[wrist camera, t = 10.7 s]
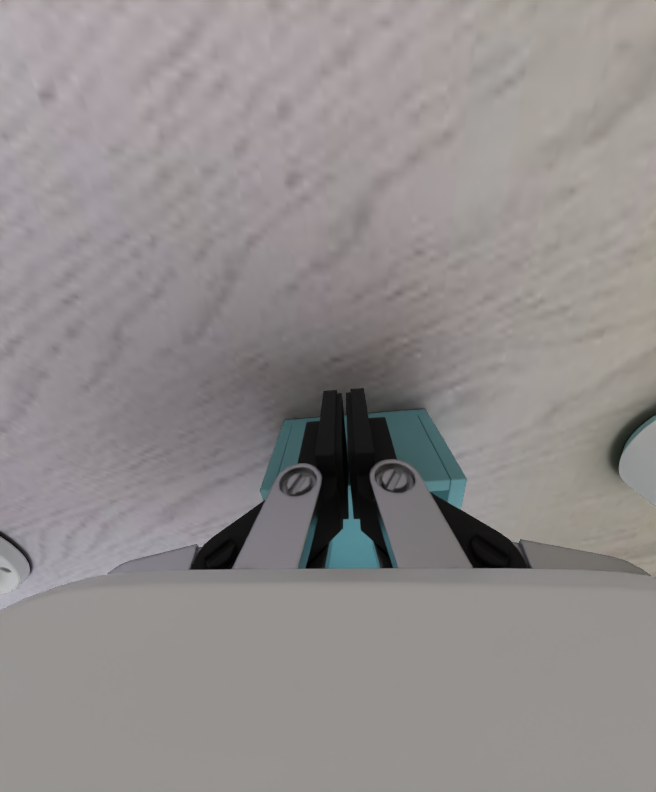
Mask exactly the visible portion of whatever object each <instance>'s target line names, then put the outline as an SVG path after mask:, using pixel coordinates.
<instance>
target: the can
mask: <svg viewBox="0 0 656 792" xmlns="http://www.w3.org/2000/svg"><path fill="white" fill-rule="evenodd" d="M619 474H620V477H621V479H622V480H623V481H624V482H625V483H626V484H627V485H628V486H629V487H631V488H632V489H633V490H635V491H636V492H637V493H638V494H640V495H641V496H642V497H644V498H645V499H646V500H647V501H649V502H650V503H651V504H653V505H654V506H655V507H656V415H655V416H653V417H652V418H650V419H649V420H647V421H646V422H645V423H644V424H642V425H641V426H640V427H639V428H638V429H637V430H636V431H635V432H634V433H633V434H632V435H631V437H630V438H629V439H628V441H627V443H626V444H625V447H624V450H623V452H622V455H621V458H620V462H619Z"/></svg>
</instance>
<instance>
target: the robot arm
mask: <svg viewBox="0 0 656 792" xmlns="http://www.w3.org/2000/svg"><path fill="white" fill-rule="evenodd" d="M346 416H347V443H346V432H345V421H344V411H343V400H342V393H337V390H331V391H324V393H323V400H322V407H321V415H320V421H311V422H307V423H306V427H305V431H304V436H303V440H302V445H301V449H300V454H299V458H298V463H297V464H295V465H291V466H289V467H287V468H285V469H284V470H283V471H282V472H280V473H279V475H278V476H277V478H276V479H275V481H274V483H273V485H272V488H271V490H270V492H269V494H268V496H267V498H266V500H264V501H263V502H262V503H260V504H259V505H257V506H256V507H255V508H253V509H252V510H250V511H249V512H248V513H246V514H245V515H243V516H242V517H241V518H239V519H238V520H236V521H235V522H234V523H232V524H231V525H229V526H228V527H226V528H225V529H224V530H222V531H221V532H219V533H218V534H217V535H215V536H214V537H212V538H211V539H210V540H209V541H208V542H207V543H206V544H204V546H203V547H198V545H197V544H195V545H191V546H187V547H183V548H179V549H175V550H171V551H167V552H163V553H159V554H155V555H151V556H147V557H143V558H139V559H135V560H131V561H128V562H126V563H123V564H121V565H119V566H118V567H116V568H115V569H113V570H112V571H110V572H109V573H108V574H107V575H102V576H96V577H90V578H86V579H82V580H78V581H75V582H71V583H67V584H64V585H60V586H57V587H54V588H52V589H49V590H46V591H44V592H41V593H39V594H36V595H33V596H31V597H28V598H25V599H23V600H21V601H19V602H17V603H14V604H12V605H10V606H8V607H6V608H4V609H2V610H0V792H656V577H654V576H651V575H649V574H648V573H647V572H645V571H644V570H643V569H641V568H639V567H637V566H635V565H633V564H631V563H629V562H627V561H625V560H622V559H618V558H615V557H612V556H607V555H601V554H596V553H591V552H585V551H580V550H575V549H570V548H564V547H559V546H554V545H548V544H543V543H538V542H532V541H527V540H522V539H520V541H519V543H515V542H511V541H510V540H509V539H508V538H506V537H505V536H503V535H502V534H501V533H499V532H498V531H496V530H494V529H492V528H491V527H489V526H487V525H486V524H484V523H482V522H480V521H479V520H477V519H475V518H474V517H472V516H470V515H469V514H467V513H465V512H463V511H462V510H460V509H458V508H457V507H455V506H453V505H451V504H450V503H448V502H446V501H445V500H443V499H441V498H439V497H438V496H436V495H434V494H433V493H431V492H429V490H428V488H427V486H426V485H425V483H424V481H423V479H422V478H421V476H420V474H419V473H418V471H417V470H416V469H415V468H414V467H413V466H412V465H410V464H409V463H406V462H404V461H402V460H397V457H396V454H395V450H394V447H393V443H392V439H391V436H390V432H389V429H388V425H387V422H386V418H385V417H375V418H368V412H367V406H366V400H365V394H364V389H363V388H358V389H351V392H349V393H346ZM347 447H348V463H349V474H350V485H351V496H352V506H353V517H354V519H360V528H361V531H362V532H363V533H364V534H366V535H367V536H368V537H369V538H370V539H371V540H372V546H373V550H374V554H375V558H376V562H377V566H378V568H349V569H328V568H329V562H330V557H331V551H332V539H333V538H334V537H335V536H336V535H337V534H338V533H339V532H340V531H341V529H343V519H349V506H348V470H347ZM29 573H30V567H29V563H28V561H27V560H26V558H25V557H24V556H23V554H22V553H21V552H20V551H19V550H18V549H17V548H16V547H14V546H13V545H12V544H11V543H10V542H8V541H7V540H5V539H4V538H2V537H1V536H0V594H3V593H7V592H10V591H13V590H15V589H16V588H18V587H19V586H20V585H21V584H22V582H23V581H24V580H25V579H26V578H27V577H28V576H29Z"/></svg>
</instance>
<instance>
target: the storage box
mask: <svg viewBox="0 0 656 792" xmlns="http://www.w3.org/2000/svg"><path fill="white" fill-rule="evenodd" d="M375 417H385V418H386V422H387V425H388V429H389V432H390V436H391V439H392V443H393V447H394V450H395V454H396V457H397V460H402V461H404V462H406V463H409V464H410V465H412V466H413V467H414V468H415V469H416V470H417V471H418V473H419V474H420V476H421V478H422V479H423V481H424V483H425V485H426V486H427V488H428V490H429V492H431V493H433V494H434V495H436V496H438V497H439V498H441V499H443V500H445V501H446V502H448V503H450V504H451V505H453V506H455V507H457V508H458V509H460V510H461V506H462V501H463V496H464V491H465V486H466V481H467V478H466V477H465V475H464V473H463V471H462V470H461V468H460V466H459V465H458V463H457V461H456V460H455V458H454V456H453V455H452V453H451V451H450V449H449V448H448V446H447V444H446V443H445V441H444V439H443V438H442V436H441V434H440V433H439V431H438V429H437V427H436V426H435V424H434V422H433V421H432V419H431V417H430V416H429V414H428V412H427V410H426V409H418V410H406V411H393V412H381V413H369V414H368V418H375ZM311 421H320V417H319V418H307V419H295V420H284V422H283V425H282V428H281V431H280V434H279V436H278V439H277V442H276V445H275V448H274V451H273V454H272V457H271V459H270V462H269V465H268V468H267V471H266V474H265V477H264V480H263V483H262V485H261V488H260V492H261V495H262V498H263V500H266V498H267V496H268V494H269V492H270V490H271V488H272V485H273V483H274V481H275V479H276V478H277V476H278V475H279V473H280V472H282V471H283V470H284V469H285V468H287V467H289V466H291V465H295V464H297V463H298V458H299V454H300V449H301V445H302V440H303V436H304V431H305V427H306V423H307V422H311ZM344 421H345V432H346V443H347V416H346V415H344ZM347 470H348V506H349V519H343V529H341V531H340V532H339V533H338V534H337V535H336V536H335V537H334V538H333V539H332V551H331V557H330V562H329V568H328V569H349V568H378V566H377V562H376V558H375V554H374V550H373V546H372V540H371V539H370V538H369V537H368V536H367V535H366V534H364V533H363V532H362V531H361V528H360V519H354V517H353V506H352V496H351V485H350V474H349V463H348V447H347Z"/></svg>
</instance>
